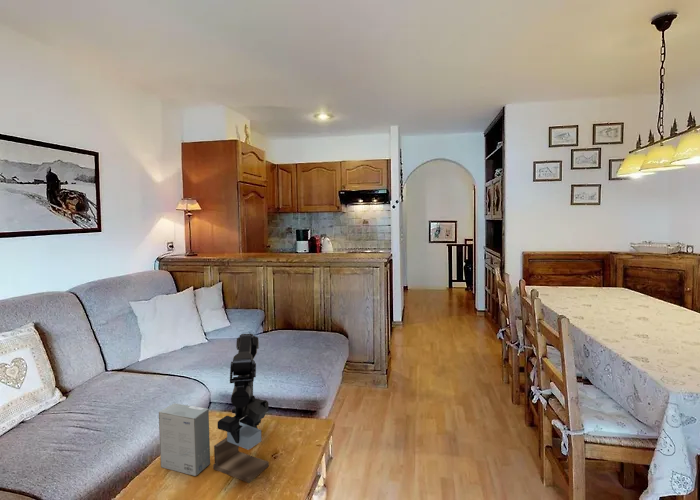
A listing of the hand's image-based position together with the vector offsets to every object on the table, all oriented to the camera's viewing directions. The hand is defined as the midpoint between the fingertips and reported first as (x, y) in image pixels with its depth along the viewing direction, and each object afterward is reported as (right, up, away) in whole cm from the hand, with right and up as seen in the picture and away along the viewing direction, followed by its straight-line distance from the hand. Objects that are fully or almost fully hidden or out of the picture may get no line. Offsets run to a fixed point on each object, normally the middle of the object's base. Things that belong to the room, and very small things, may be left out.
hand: (244, 438), depth 133 cm
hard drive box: (-21, -11, +2) cm, 24 cm away
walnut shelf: (-1, -11, +1) cm, 11 cm away
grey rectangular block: (0, -1, 0) cm, 1 cm away
